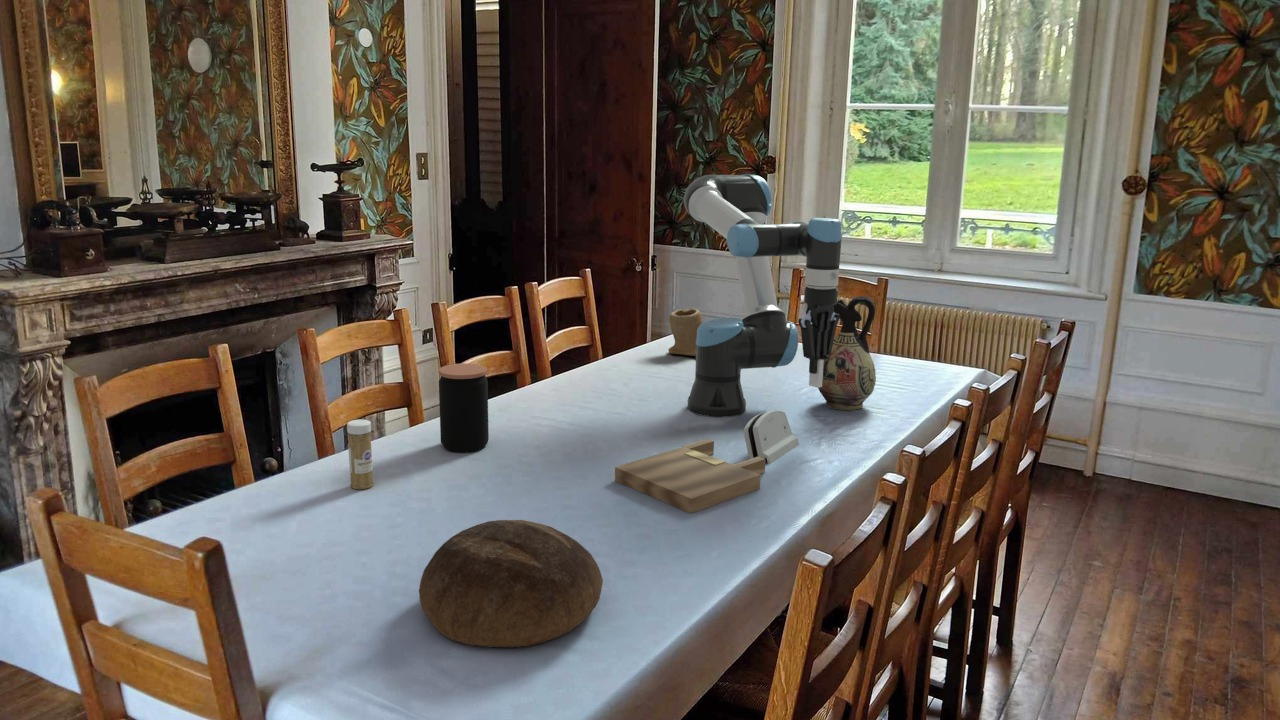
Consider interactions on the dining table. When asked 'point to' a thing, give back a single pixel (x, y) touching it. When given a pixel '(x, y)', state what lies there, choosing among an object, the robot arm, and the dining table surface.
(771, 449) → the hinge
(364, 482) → the sprinkles bottle
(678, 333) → the stone cup
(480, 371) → the coffee jar
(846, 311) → the ceramic jug
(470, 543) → the bread
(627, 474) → the brown flat wooden slab
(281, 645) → the dining table surface
